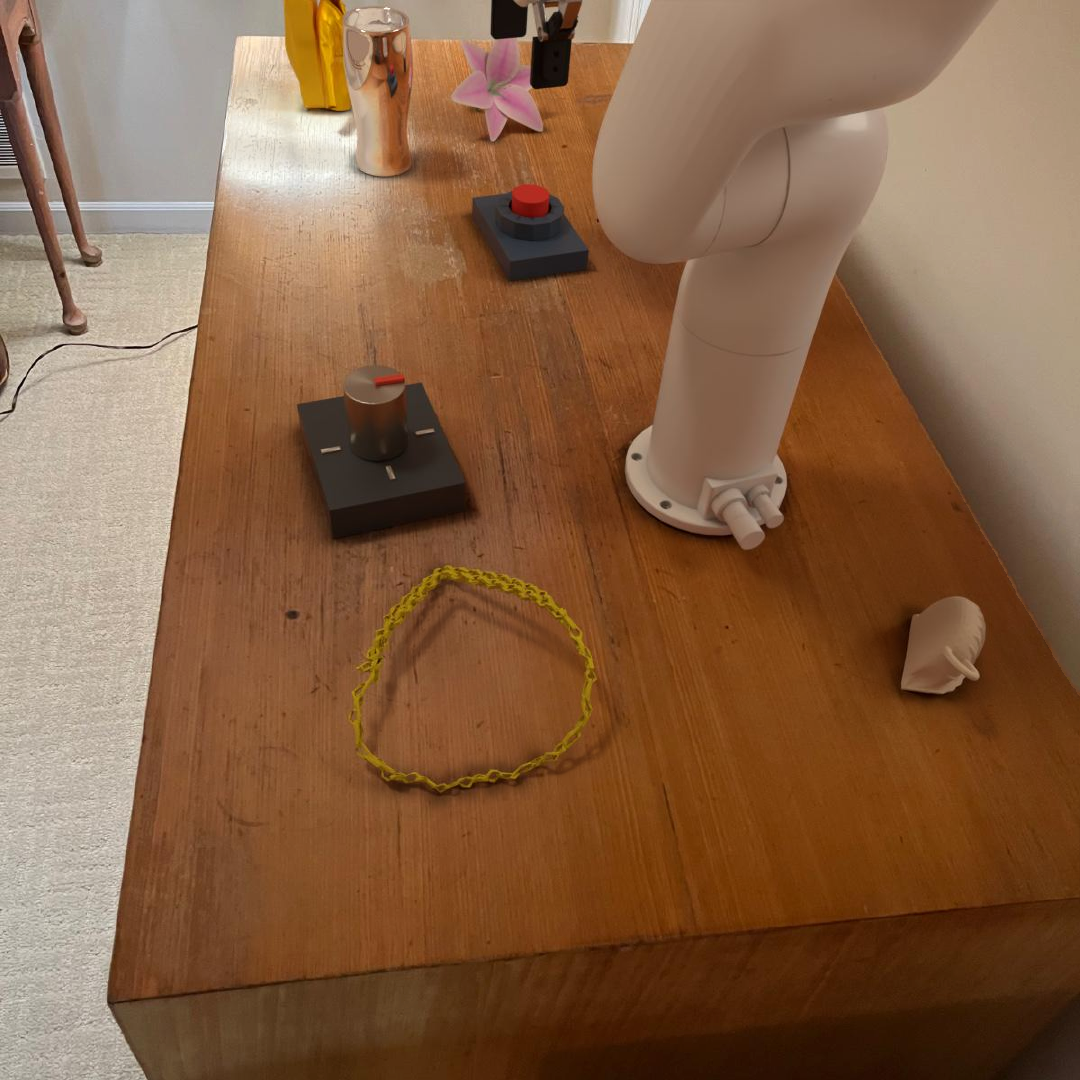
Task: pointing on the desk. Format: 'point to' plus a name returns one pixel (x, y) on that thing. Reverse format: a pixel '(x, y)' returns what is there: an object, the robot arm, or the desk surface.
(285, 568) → the desk surface
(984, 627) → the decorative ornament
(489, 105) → the lily
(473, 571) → the decorative chain
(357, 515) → the panel
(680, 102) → the robot arm
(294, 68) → the yellow foil bag
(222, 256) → the desk surface
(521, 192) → the button
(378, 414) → the dial
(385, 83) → the beer glass
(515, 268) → the button block
